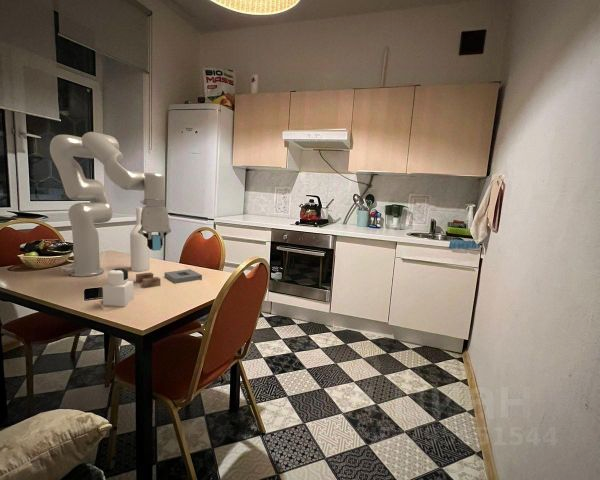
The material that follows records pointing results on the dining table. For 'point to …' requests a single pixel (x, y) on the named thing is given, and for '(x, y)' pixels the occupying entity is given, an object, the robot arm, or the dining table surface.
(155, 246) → the plug
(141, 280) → the brown notched block
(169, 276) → the port block
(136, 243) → the bottle
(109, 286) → the medicine bottle
